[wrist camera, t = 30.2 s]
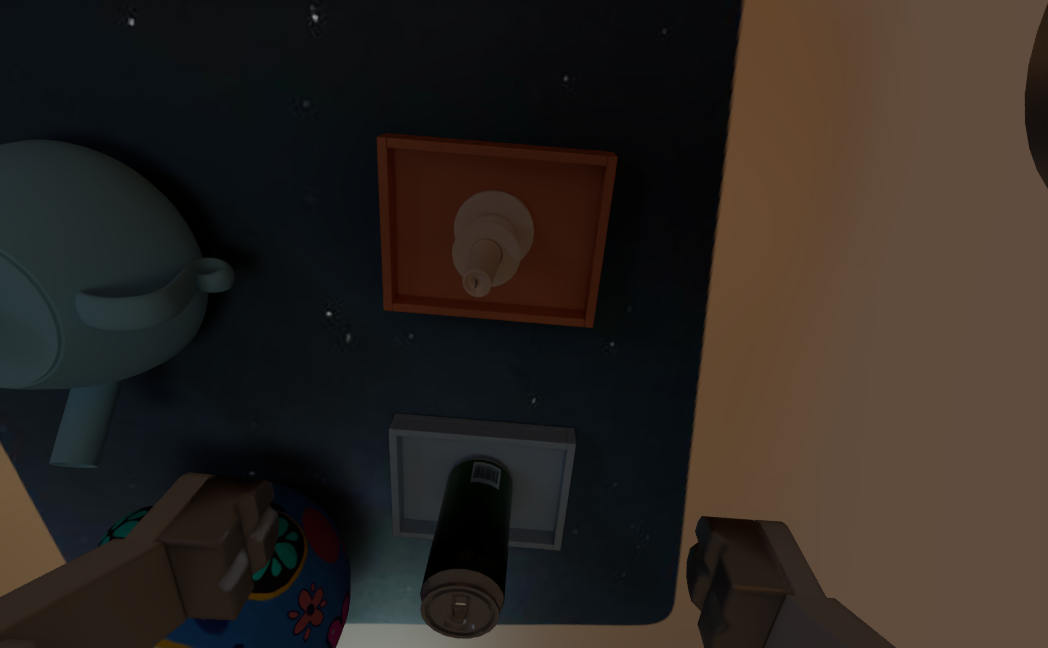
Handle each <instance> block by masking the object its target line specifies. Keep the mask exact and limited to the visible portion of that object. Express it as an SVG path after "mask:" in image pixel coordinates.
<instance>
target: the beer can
mask: <svg viewBox="0 0 1048 648" xmlns="http://www.w3.org/2000/svg"><path fill="white" fill-rule="evenodd" d="M512 494H513V484H512V480H511V478H510V475H509V473H508V472H507V470H506V468H505V467H504V466H503V465H502V464H501V463H499V462H497V461H496V460H494V459H491V458H487V457H471V458H467V459H465V460H463V461H462V462H460V463H459V464H457V465H456V466H455V467H454V469H453V470H452V471H451V472H450V474H449V476H448V480H447V484H446V488H445V492H444V496H443V500H442V504H441V509H440V513H439V517H438V521H437V525H436V530H435V534H434V538H433V542H432V546H431V550H430V555H429V559H428V563H427V567H426V571H425V575H424V580H423V584H422V588H421V592H420V596H421V601H422V604H421V608H420V609H421V615H422V618H423V619H424V621H425V622H426V624H427V625H428V626H430V627H431V628H432V629H433V630H434V631H436V632H438V633H441V634H443V635H445V636H449V637H454V638H473V637H479V636H482V635H484V634H486V633H487V632H489V631H491V630H492V629H493V628H494V627H495V626H496V624H497V622H498V619H499V613H500V612H501V609H502V607H503V604H504V596H505V583H506V571H507V558H508V545H509V532H510V519H511V507H512Z"/></svg>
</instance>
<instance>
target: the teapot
mask: <svg viewBox="0 0 1048 648" xmlns="http://www.w3.org/2000/svg"><path fill="white" fill-rule="evenodd" d="M234 280H235V273H234V270H233V268H232V267H231V266H230V265H229V264H228V263H227V262H225V261H223V260H221V259H217V258H203V257H202V253H201V250H200V248H199V246H198V243H197V241H196V239H195V236H194V235H193V233H192V231H191V229H190V228H189V226H188V224H187V222H186V221H185V220H184V218H183V217H182V215H181V214H180V213H179V211H178V210H177V209H176V207H175V206H174V205H173V204H172V203H171V202H170V201H169V200H168V198H167V197H166V196H165V195H164V194H163V193H162V192H160V191H159V190H158V189H157V188H156V187H155V186H154V185H153V184H152V183H151V182H149V181H148V180H147V179H146V178H144V177H143V176H142V175H140V174H139V173H138V172H136V171H135V170H133V169H132V168H130V167H128V166H127V165H125V164H123V163H122V162H120V161H118V160H116V159H114V158H112V157H110V156H108V155H106V154H104V153H101V152H98V151H95V150H93V149H90V148H87V147H83V146H79V145H75V144H71V143H67V142H63V141H54V140H45V139H44V140H24V141H19V142H13V143H8V144H3V145H0V387H1V388H12V389H65V388H71V390H70V394H69V397H68V400H67V404H66V407H65V411H64V414H63V418H62V421H61V425H60V428H59V431H58V435H57V438H56V442H55V445H54V449H53V452H52V456H51V459H50V462H49V464H51V465H56V466H65V467H78V468H97V467H98V466H99V463H100V459H101V456H102V452H103V449H104V445H105V441H106V438H107V434H108V431H109V427H110V424H111V420H112V416H113V413H114V409H115V406H116V402H117V399H118V395H119V392H120V388H121V384H122V381H123V379H126V378H129V377H132V376H135V375H138V374H140V373H143V372H145V371H147V370H149V369H152V368H154V367H156V366H158V365H160V364H162V363H164V362H166V361H167V360H169V359H170V358H172V357H173V356H175V355H176V354H177V353H179V352H180V351H182V350H183V349H184V348H185V347H186V346H187V345H188V344H189V343H190V342H191V341H192V339H193V338H194V337H195V335H196V334H197V332H198V330H199V328H200V326H201V324H202V321H203V319H204V315H205V312H206V309H207V302H208V292H210V293H216V292H223V291H226V290H228V289H230V288H231V287H232V286H233V284H234Z"/></svg>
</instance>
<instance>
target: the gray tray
mask: <svg viewBox="0 0 1048 648" xmlns="http://www.w3.org/2000/svg"><path fill="white" fill-rule="evenodd" d="M575 447H576V441H575V429H574V428H567V427H555V426H543V425H531V424H519V423H507V422H495V421H483V420H472V419H460V418H448V417H436V416H424V415H412V414H400V413H396V414H395V416H394V418H393V420H392V423H391V425H390V427H389V448H390V472H391V496H392V520H393V536H394V537H406V538H418V539H430V540H433V538H434V534H435V530H436V525H437V521H438V517H439V513H440V509H441V504H442V500H443V496H444V492H445V488H446V484H447V480H448V476H449V474H450V472H451V471H452V470H453V469H454V467H455V466H456V465H457V464H459V463H460V462H462V461H463V460H465V459H467V458H471V457H487V458H491V459H494V460H496V461H497V462H499V463H501V464H502V465H503V466H504V467H505V468H506V470H507V472H508V473H509V475H510V478H511V480H512V484H513V494H512V507H511V519H510V532H509V545H508V546H514V547H526V548H538V549H549V550H553V549H554V550H560V549H561V542H562V536H563V529H564V522H565V515H566V508H567V501H568V495H569V488H570V481H571V474H572V467H573V460H574V454H575Z"/></svg>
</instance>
